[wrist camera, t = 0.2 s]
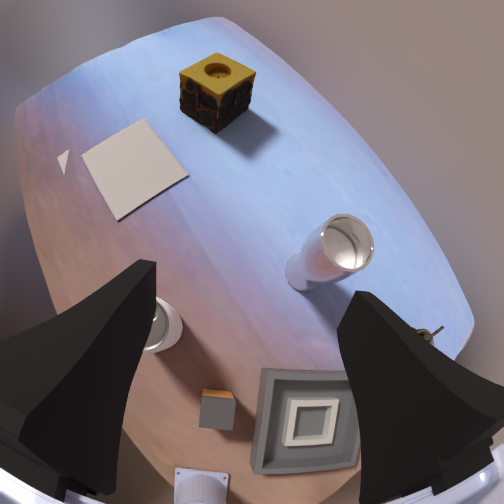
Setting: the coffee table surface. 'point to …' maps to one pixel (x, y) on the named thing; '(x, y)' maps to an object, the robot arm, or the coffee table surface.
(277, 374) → the box
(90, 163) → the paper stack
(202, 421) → the plug
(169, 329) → the can
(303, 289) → the beer glass
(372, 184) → the coffee table surface
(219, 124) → the candle
